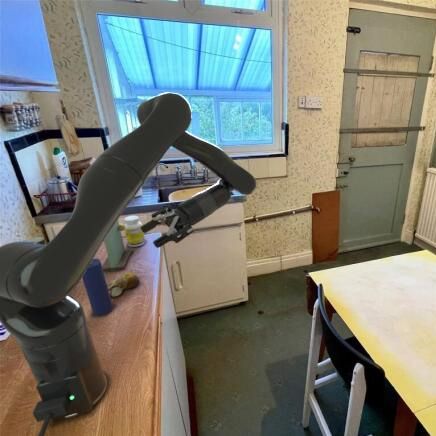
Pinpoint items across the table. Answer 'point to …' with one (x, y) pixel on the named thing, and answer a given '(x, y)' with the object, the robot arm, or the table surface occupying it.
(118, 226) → the green panel
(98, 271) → the t-handle plunger
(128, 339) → the table surface
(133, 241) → the pill bottle
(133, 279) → the fruit
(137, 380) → the table surface
